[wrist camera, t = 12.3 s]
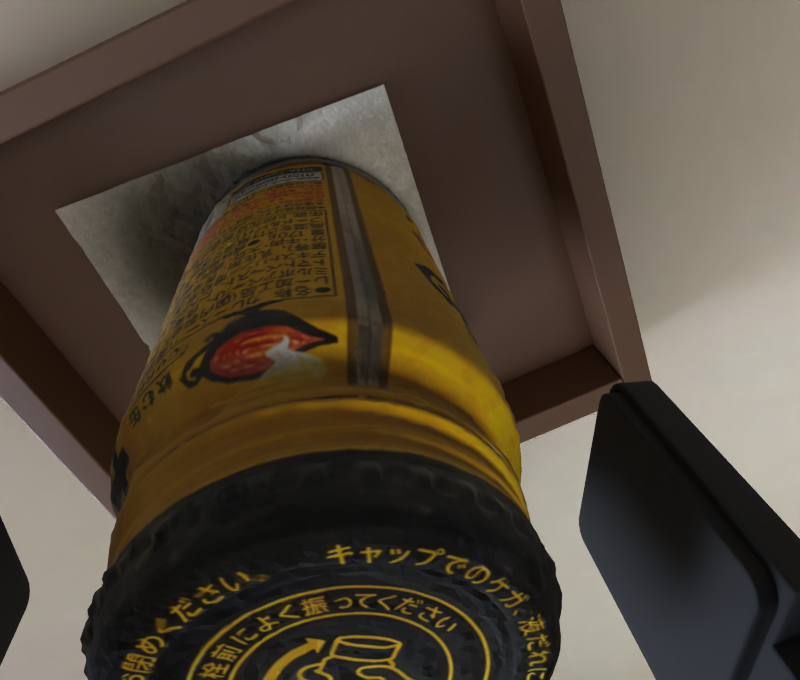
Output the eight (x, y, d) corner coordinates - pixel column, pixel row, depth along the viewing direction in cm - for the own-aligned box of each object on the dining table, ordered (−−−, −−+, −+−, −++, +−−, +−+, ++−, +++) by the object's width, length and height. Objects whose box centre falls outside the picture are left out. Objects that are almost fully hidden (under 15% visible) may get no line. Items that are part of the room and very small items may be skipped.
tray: (485, -139, 14) (522, -165, 11) (616, 346, 20) (654, 388, 18) (-125, 161, 15) (-198, 189, 12) (190, 527, 21) (178, 586, 19)
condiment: (462, 330, 19) (673, 754, 8) (199, 426, 19) (77, 954, 8) (382, 82, 15) (578, 272, 4) (58, 205, 15) (-463, 653, 5)
